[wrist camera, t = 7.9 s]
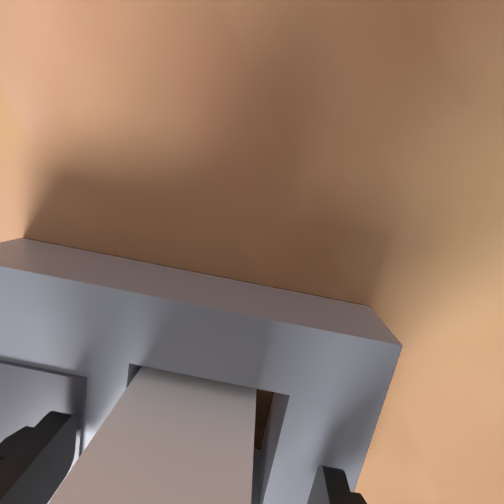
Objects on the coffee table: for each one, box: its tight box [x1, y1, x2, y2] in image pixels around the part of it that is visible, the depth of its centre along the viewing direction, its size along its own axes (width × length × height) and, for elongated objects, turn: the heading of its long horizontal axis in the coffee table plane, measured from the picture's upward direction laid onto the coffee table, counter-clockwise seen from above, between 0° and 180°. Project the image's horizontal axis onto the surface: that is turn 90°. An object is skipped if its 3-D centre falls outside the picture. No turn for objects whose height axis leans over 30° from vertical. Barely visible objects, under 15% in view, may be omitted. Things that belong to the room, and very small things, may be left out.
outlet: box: [0, 238, 402, 504], centre depth 12 cm, size 14×10×3 cm
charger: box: [48, 366, 257, 504], centre depth 10 cm, size 4×4×7 cm
